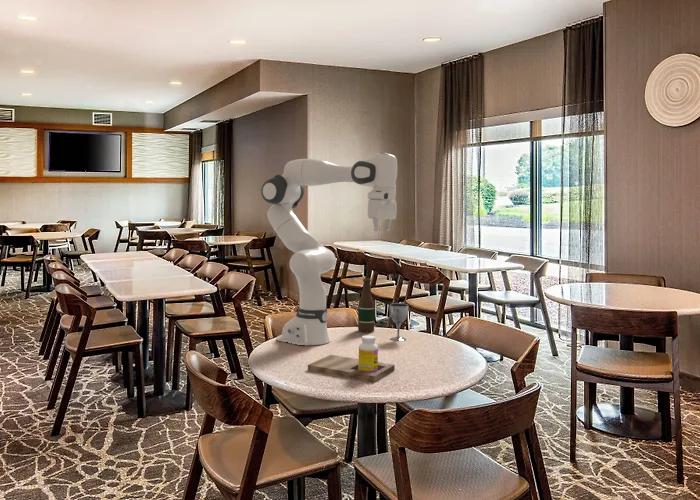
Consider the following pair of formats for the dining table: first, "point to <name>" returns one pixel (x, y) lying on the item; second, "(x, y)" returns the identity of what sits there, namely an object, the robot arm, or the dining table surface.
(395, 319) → the wine glass
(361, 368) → the supplement bottle
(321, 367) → the caddy board
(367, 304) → the beer bottle
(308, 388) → the dining table surface
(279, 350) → the dining table surface
